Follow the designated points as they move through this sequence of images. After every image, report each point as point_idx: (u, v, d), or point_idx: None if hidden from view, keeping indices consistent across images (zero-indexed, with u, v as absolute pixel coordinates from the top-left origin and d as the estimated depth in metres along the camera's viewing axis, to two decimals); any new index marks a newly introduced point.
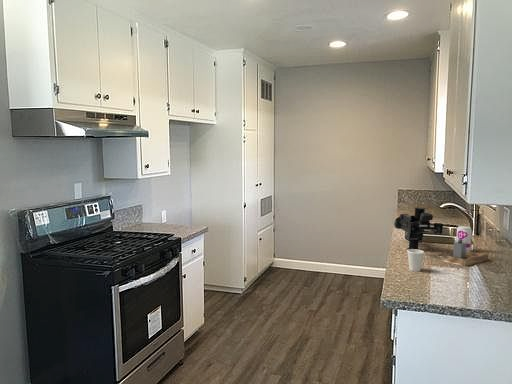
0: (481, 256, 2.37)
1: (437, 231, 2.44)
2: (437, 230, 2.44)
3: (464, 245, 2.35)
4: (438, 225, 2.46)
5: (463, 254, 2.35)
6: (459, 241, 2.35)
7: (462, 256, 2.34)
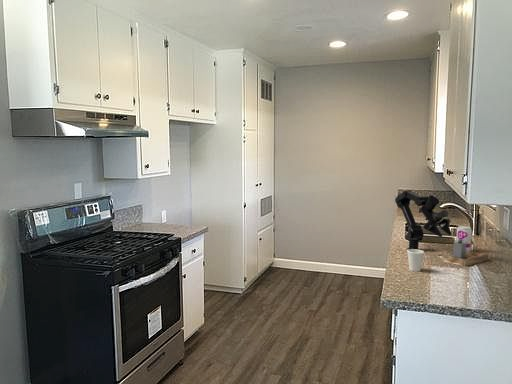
0: (481, 256, 2.37)
1: (446, 231, 2.47)
2: (447, 230, 2.47)
3: (464, 245, 2.35)
4: (448, 224, 2.47)
5: (463, 254, 2.35)
6: (459, 241, 2.35)
7: (462, 256, 2.34)
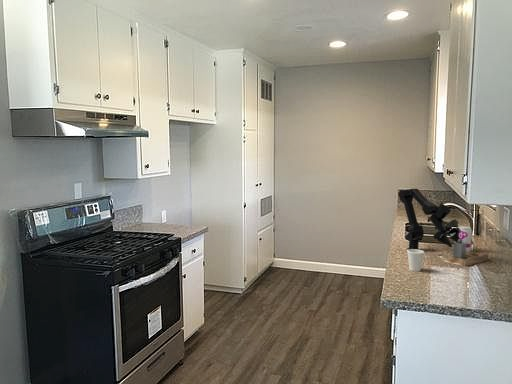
0: (481, 256, 2.37)
1: (456, 240, 2.42)
2: (456, 239, 2.42)
3: (464, 245, 2.35)
4: (458, 233, 2.43)
5: (463, 254, 2.35)
6: (459, 241, 2.35)
7: (462, 256, 2.34)
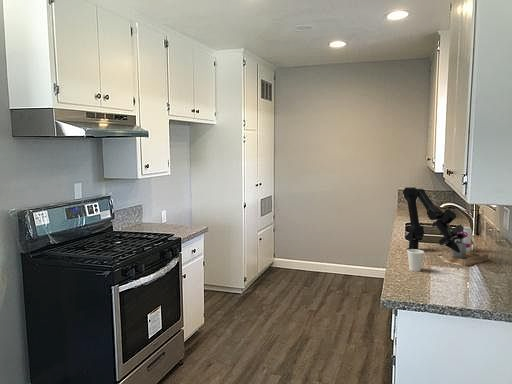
0: (481, 256, 2.37)
1: None
2: None
3: (464, 245, 2.35)
4: None
5: (463, 254, 2.35)
6: (459, 241, 2.35)
7: (462, 256, 2.34)
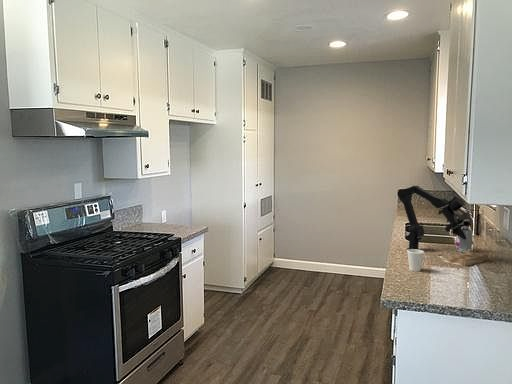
0: (481, 256, 2.37)
1: None
2: None
3: (470, 232, 2.37)
4: (468, 226, 2.42)
5: (469, 241, 2.37)
6: (465, 228, 2.38)
7: (468, 243, 2.37)
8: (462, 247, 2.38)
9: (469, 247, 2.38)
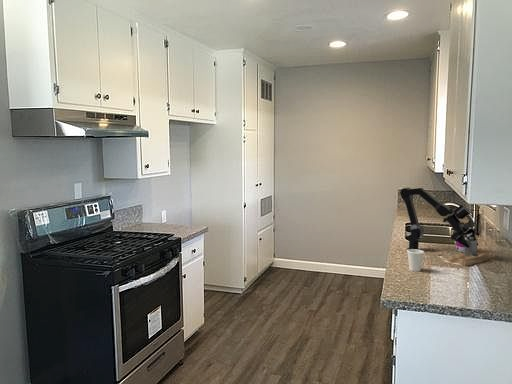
0: (481, 256, 2.37)
1: None
2: None
3: (475, 242, 2.41)
4: (475, 234, 2.47)
5: (474, 251, 2.41)
6: (470, 239, 2.42)
7: (473, 253, 2.41)
8: None
9: None
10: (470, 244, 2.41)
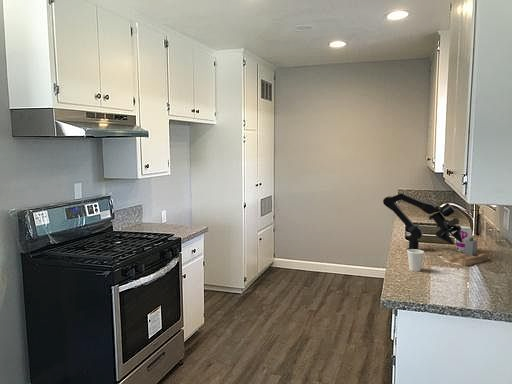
0: (481, 256, 2.37)
1: (457, 238, 2.54)
2: (457, 237, 2.54)
3: (475, 242, 2.41)
4: (459, 231, 2.54)
5: (474, 251, 2.41)
6: (470, 239, 2.42)
7: (473, 253, 2.41)
8: None
9: None
10: (470, 244, 2.41)
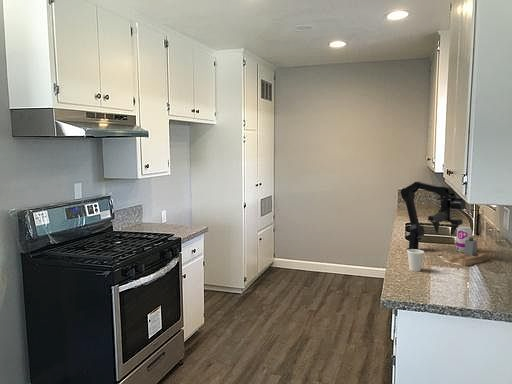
0: (481, 256, 2.37)
1: None
2: None
3: (475, 242, 2.41)
4: (452, 226, 2.44)
5: (474, 251, 2.41)
6: (470, 239, 2.42)
7: (473, 253, 2.41)
8: None
9: None
10: (470, 244, 2.41)
